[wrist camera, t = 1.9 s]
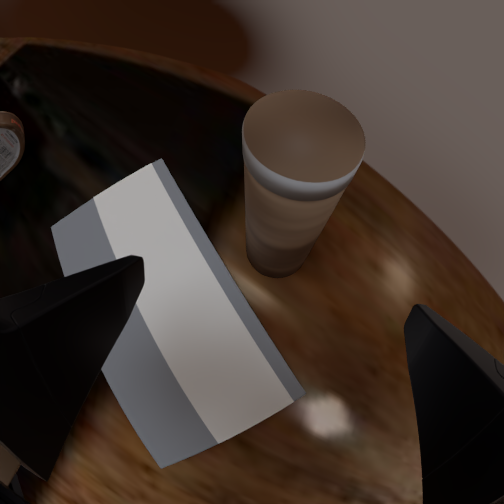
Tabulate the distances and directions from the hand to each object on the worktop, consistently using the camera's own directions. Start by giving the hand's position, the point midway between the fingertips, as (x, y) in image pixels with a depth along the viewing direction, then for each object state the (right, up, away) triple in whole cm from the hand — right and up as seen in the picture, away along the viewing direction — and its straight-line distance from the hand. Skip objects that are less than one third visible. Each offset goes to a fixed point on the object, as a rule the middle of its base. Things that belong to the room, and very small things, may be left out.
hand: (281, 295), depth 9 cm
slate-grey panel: (-8, -3, +12) cm, 14 cm away
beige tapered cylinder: (+1, +2, +13) cm, 13 cm away
